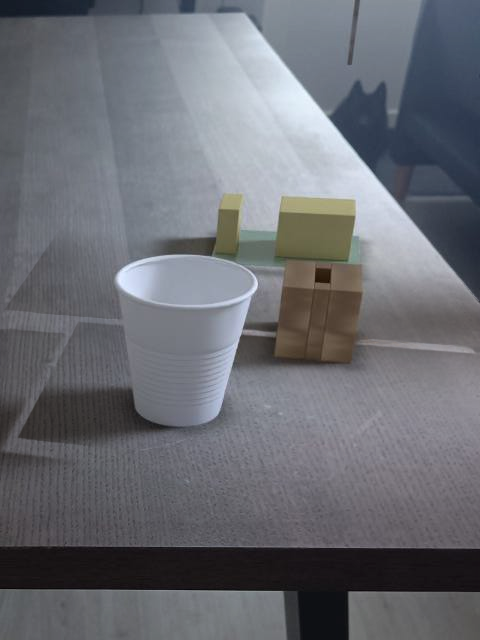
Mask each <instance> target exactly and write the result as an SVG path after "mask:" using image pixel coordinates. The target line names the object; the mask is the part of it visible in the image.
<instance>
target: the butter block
mask: <svg viewBox="0 0 480 640" xmlns="http://www.w3.org/2000/svg"><path fill="white" fill-rule="evenodd" d="M356 203H357V202H356V199H351V198H331V197H330V198H329V197H310V196H309V197H307V196H306V197H305V196H289V195H288V196H287V195H285V196H284V195H283V196H281V199H280V205H279V212H278V220H277V227H276V228H277V229H276V232H277V237H276V246H275V255H274V256H275V257H291V258H308V259H324V260H341V261H349V258H350V251H351V244H352V238H353V236H354V230H355V223H356V216H357V214H356V213H357V212H356V210H357V209H356V206H357V205H356Z"/></svg>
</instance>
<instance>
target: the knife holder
mask: <svg viewBox="0 0 480 640" xmlns="http://www.w3.org/2000/svg"><path fill="white" fill-rule="evenodd" d="M283 272H284V273H283V279H282V286H281V295H280V302H279V303H280V304H279V310H278V311H279V312H278V320H277V330H276V337H275V346H274V354H273V355H274V356H273V357H274V358H283V359H293V360H294V359H296V360H304V361H305V360H307V361H319V362H329V363H330V362H331V363H343V364H352V362H353V356H354V351H355V344H356V338H357V337H356V336H357V331H358V325H359V318H360V312H361V308H362V307H361V306H362V299H363V294H364V291H363V289H364V288H363V287H364V285H363V265H362V264H361V263H360V264H344V263H328V262H311V261H294V260H286V264H285V267H284V271H283Z"/></svg>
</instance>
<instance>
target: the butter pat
mask: <svg viewBox="0 0 480 640" xmlns="http://www.w3.org/2000/svg"><path fill="white" fill-rule="evenodd" d="M243 206H244V194H242V193H223V194H222V198H221V201H220V203H219V206H218V211H217V212H218V213H217V225H216V236H215V243H216V249H215V253H225V254H236V250H237V246H238V242H239V239H240V230H242V219H243V218H242V217H243V208H244V207H243Z"/></svg>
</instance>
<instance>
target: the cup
mask: <svg viewBox="0 0 480 640" xmlns="http://www.w3.org/2000/svg"><path fill="white" fill-rule="evenodd" d="M258 281H259V280H258V279H257V277H256V275H255V274H254V273H253V272H252V271H251V270H250V269H248V268H246V267H244V265H242V264H236V263H234V262H231V261H227V260H224V259H219V258H214V257H212V256H208V255H199V254H166V255H165V254H164V255H157V256H150V257H145V258H142V259H138V260H135V261H132V262H130V263H128V264H126V265H125V266H122V267H121V268H120V269H119V270H118V271H117V272H116V273H115V275H114V278H113V284H114V287H115V289H116V290H117V292H118V297H119V304H120V312H121V318H122V319H121V320H122V326H123V332H124V338H125V346H126V353H127V360H128V366H129V375H130V381H131V386H132V394H133V403H134V409H135V411H136V413H138V414H139V416H140V417H142V418H144V419H145V420H147V421H149V422H152V423H155V424H157V425H162V426H166V427H175V428H176V427H177V428H180V427H182V428H183V427H184V428H185V427H194V426H198V425H204V424H206V423H208V422H210V421H212V420H214V419H215V418H216V417H217V416H218V415H219V413H220V412H221V409H222V405H223V401H224V397H225V393H226V390H227V385H228V382H229V378H230V374H231V372H232V367H233V364H234V361H235V357H236V354H237V349H238V347H239V342H240V337H241V336H242V332H243V329H244V326H245V322H246V318H247V315H248V311H249V308H250V304H251V301H252V298H253V295H254V294H255V293H256V291H257V290H258V285H259V284H258V283H259V282H258Z"/></svg>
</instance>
